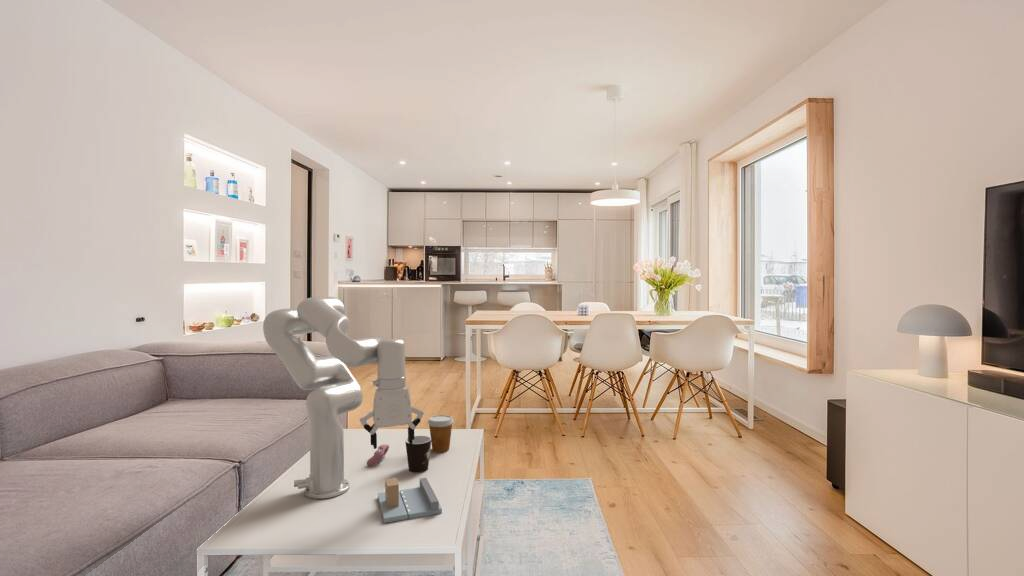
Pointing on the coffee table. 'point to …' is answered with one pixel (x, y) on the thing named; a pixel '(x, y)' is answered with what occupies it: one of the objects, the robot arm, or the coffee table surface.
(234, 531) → the coffee table surface
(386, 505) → the grey slab
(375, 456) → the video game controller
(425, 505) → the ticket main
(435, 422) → the disposable coffee cup
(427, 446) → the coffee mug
